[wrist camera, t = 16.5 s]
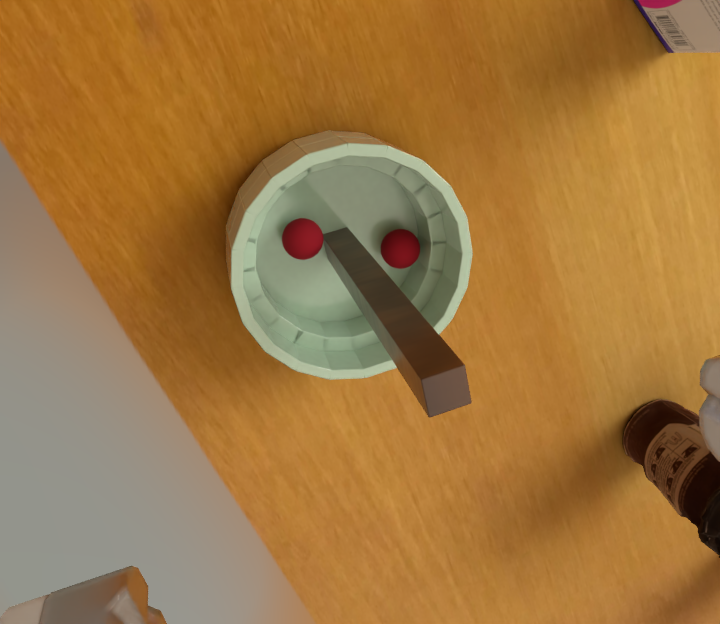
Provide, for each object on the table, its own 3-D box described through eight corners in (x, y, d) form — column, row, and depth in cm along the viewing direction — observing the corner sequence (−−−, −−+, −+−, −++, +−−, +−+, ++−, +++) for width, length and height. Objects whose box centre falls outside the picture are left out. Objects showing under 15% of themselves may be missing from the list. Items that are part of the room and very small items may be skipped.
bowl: (261, 365, 45) (271, 409, 40) (194, 165, 39) (195, 185, 34) (452, 304, 47) (486, 338, 42) (416, 104, 41) (451, 114, 36)
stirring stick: (327, 259, 43) (429, 418, 25) (321, 234, 42) (420, 379, 24) (353, 251, 43) (472, 403, 25) (347, 226, 42) (465, 364, 24)
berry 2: (429, 233, 43) (403, 249, 45) (399, 215, 41) (374, 232, 43) (427, 265, 41) (401, 280, 43) (396, 248, 40) (370, 264, 42)
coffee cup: (594, 469, 57) (699, 580, 45) (623, 386, 54) (743, 481, 42) (675, 469, 59) (794, 573, 48) (707, 389, 57) (841, 480, 45)
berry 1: (276, 231, 42) (278, 265, 40) (287, 206, 40) (289, 240, 38) (314, 237, 43) (317, 269, 41) (327, 212, 41) (330, 246, 39)
